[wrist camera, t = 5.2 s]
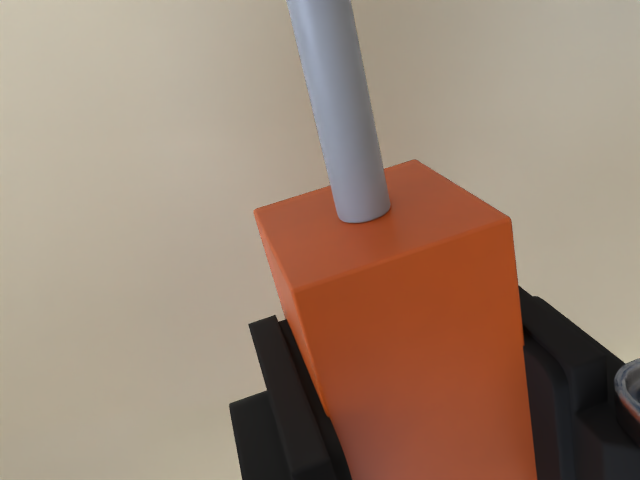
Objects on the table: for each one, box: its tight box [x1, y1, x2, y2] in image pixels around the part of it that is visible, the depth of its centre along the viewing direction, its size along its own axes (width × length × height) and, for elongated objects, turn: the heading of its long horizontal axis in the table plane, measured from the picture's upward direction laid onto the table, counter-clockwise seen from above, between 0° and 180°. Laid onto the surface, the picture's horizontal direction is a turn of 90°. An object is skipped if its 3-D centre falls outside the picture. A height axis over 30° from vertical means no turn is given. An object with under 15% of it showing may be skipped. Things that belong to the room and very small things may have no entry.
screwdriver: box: [254, 0, 537, 480], centre depth 9 cm, size 13×3×3 cm, turn 13°
